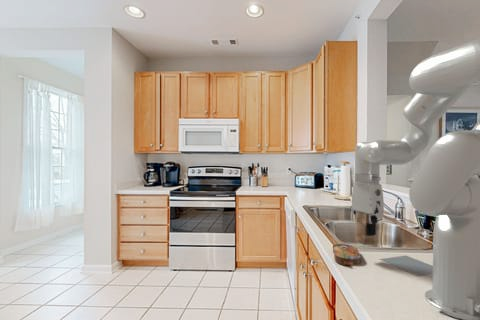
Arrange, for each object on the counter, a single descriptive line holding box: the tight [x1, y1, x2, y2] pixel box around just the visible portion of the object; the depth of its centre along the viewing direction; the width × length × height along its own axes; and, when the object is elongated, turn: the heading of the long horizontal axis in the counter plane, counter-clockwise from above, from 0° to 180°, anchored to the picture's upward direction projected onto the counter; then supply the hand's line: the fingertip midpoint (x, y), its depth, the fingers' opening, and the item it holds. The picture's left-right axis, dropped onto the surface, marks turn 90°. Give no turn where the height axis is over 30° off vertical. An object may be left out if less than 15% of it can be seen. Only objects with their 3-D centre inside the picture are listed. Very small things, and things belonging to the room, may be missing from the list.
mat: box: [379, 255, 433, 277], centre depth 89 cm, size 14×12×1 cm
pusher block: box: [354, 211, 375, 246], centre depth 93 cm, size 4×4×14 cm
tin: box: [332, 243, 362, 266], centre depth 96 cm, size 15×3×8 cm
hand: (365, 232), depth 93 cm, fingers closed on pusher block, 4 cm apart
